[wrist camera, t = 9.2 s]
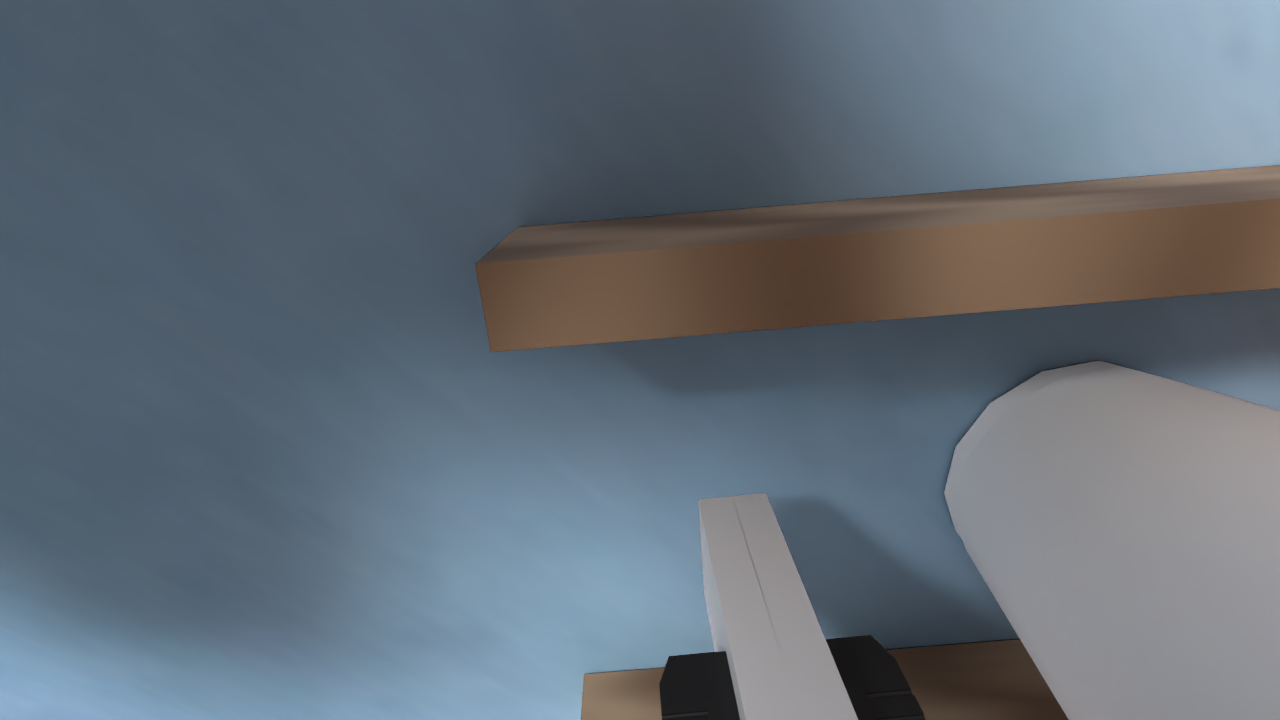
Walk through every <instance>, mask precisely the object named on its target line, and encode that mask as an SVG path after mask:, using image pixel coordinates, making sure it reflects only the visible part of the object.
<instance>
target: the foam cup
mask: <svg viewBox="0 0 1280 720" xmlns="http://www.w3.org/2000/svg"><path fill="white" fill-rule="evenodd" d="M944 494H945V498H946V501H947V504H948V508H949V511H950V514H951V518H952V521H953V524H954V528H955V531H956V533H957V534H958V535H959V536H960V538H961V539H962V540H963V543H964V546H965V549H966V551H967V553H968V554H969V556H970V557H971V559H972V561H973V562H974V564H975V566H976V567H977V569H978V571H979V572H980V574H981V576H982V577H983V579H984V581H985V582H986V584H987V586H988V587H989V589H990V591H991V592H992V594H993V595H994V597H995V599H996V600H997V602H998V604H999V605H1000V607H1001V609H1002V610H1003V612H1004V614H1005V615H1006V617H1007V619H1008V620H1009V622H1010V624H1011V625H1012V627H1013V629H1014V630H1015V632H1016V634H1017V635H1018V637H1019V638H1020V640H1021V642H1022V643H1023V645H1024V647H1025V648H1026V650H1027V652H1028V653H1029V655H1030V657H1031V658H1032V660H1033V662H1034V663H1035V665H1036V667H1037V668H1038V670H1039V672H1040V673H1041V675H1042V676H1043V678H1044V680H1045V681H1046V683H1047V685H1048V686H1049V688H1050V690H1051V691H1052V693H1053V695H1054V696H1055V698H1056V700H1057V701H1058V703H1059V705H1060V706H1061V708H1062V710H1063V711H1064V713H1065V714H1066V716H1067V718H1068V719H1069V720H1280V411H1279V410H1276V409H1272V408H1269V407H1265V406H1262V405H1258V404H1255V403H1251V402H1248V401H1244V400H1241V399H1238V398H1234V397H1231V396H1227V395H1224V394H1220V393H1217V392H1213V391H1210V390H1207V389H1203V388H1200V387H1196V386H1193V385H1189V384H1186V383H1182V382H1179V381H1175V380H1172V379H1168V378H1164V377H1160V376H1156V375H1152V374H1148V373H1145V372H1141V371H1137V370H1133V369H1130V368H1126V367H1122V366H1118V365H1114V364H1110V363H1106V362H1102V361H1094V362H1088V363H1083V364H1078V365H1073V366H1068V367H1062V368H1057V369H1052V370H1047V371H1041V372H1040V373H1038V374H1037V375H1035V376H1033V377H1032V378H1030V379H1028V380H1027V381H1025V382H1023V383H1022V384H1020V385H1019V386H1017V387H1015V388H1014V389H1012V390H1010V391H1009V392H1007V393H1005V394H1004V395H1002V396H1001V397H999V398H997V399H996V400H994V401H992V402H991V403H990V404H989V405H988V406H987V407H986V409H985V410H984V411H983V412H982V414H981V415H980V416H979V418H978V419H977V420H976V421H975V423H974V424H973V425H972V426H971V428H970V429H969V430H968V432H967V433H966V434H965V435H964V437H963V438H962V439H961V440H960V442H959V443H958V444H957V446H956V447H955V451H954V455H953V459H952V463H951V467H950V471H949V475H948V479H947V483H946V487H945V491H944Z"/></svg>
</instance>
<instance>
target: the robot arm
mask: <svg viewBox="0 0 1280 720" xmlns="http://www.w3.org/2000/svg"><path fill="white" fill-rule="evenodd" d="M698 503H699V519H700V535H701V551H702V567H703V582H704V597H705V602H706V608H707V613H708V619H709V624H710V629H711V635H712V640H713V646H714V651H715V652H710V653H699V654H689V655H678V656H669V658H668V661H667V664H666V666H665V669H664V672H663V675H662V677H661V680H660V683H659V688H660V701H661V715H662V720H926V719H925V717H924V713H923V711H922V709H921V707H920V705H919V703H918V701H917V699H916V697H915V695H913V694H912V692H911V688H910V686H909V684H908V682H907V680H906V678H905V676H904V674H903V673H902V671H901V669H900V667H899V665H898V663H897V661H896V659H895V658H894V657H893V656H892V655H891V654H890V653H889V652H888V651H886V650H885V649H884V648H883V647H882V646H881V645H880V644H879V643H878V642H877V641H876V640H875V639H874V638H873V637H872V636H871V635H868V636H857V637H847V638H836V639H825V637H824V634H823V632H822V629H821V627H820V625H819V622H818V620H817V617H816V615H815V612H814V610H813V607H812V605H811V602H810V600H809V597H808V595H807V593H806V590H805V588H804V585H803V583H802V580H801V578H800V575H799V573H798V570H797V568H796V565H795V563H794V561H793V558H792V556H791V553H790V551H789V548H788V546H787V543H786V541H785V538H784V536H783V533H782V531H781V529H780V526H779V524H778V521H777V519H776V516H775V514H774V511H773V509H772V506H771V504H770V502H769V499H768V497H767V494H766V493H759V494H749V495H739V496H728V497H718V498H708V499H698Z"/></svg>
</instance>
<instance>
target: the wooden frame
mask: <svg viewBox="0 0 1280 720" xmlns="http://www.w3.org/2000/svg"><path fill="white" fill-rule="evenodd" d="M475 266H476V271H477V277H478V283H479V288H480V294H481V299H482V305H483V311H484V316H485V322H486V327H487V333H488V339H489V344H490V350H491V352H498V351H511V350H523V349H535V348H547V347H560V346H572V345H584V344H597V343H609V342H621V341H634V340H646V339H658V338H671V337H683V336H695V335H707V334H720V333H732V332H744V331H757V330H769V329H781V328H794V327H806V326H818V325H830V324H843V323H855V322H867V321H880V320H892V319H904V318H917V317H929V316H941V315H954V314H966V313H978V312H990V311H1003V310H1015V309H1027V308H1040V307H1052V306H1064V305H1077V304H1089V303H1101V302H1114V301H1126V300H1138V299H1150V298H1163V297H1175V296H1187V295H1200V294H1212V293H1224V292H1237V291H1249V290H1261V289H1273V288H1280V165H1273V166H1261V167H1249V168H1236V169H1224V170H1212V171H1200V172H1187V173H1175V174H1163V175H1151V176H1138V177H1126V178H1114V179H1102V180H1089V181H1077V182H1065V183H1053V184H1040V185H1028V186H1016V187H1004V188H991V189H979V190H967V191H955V192H942V193H930V194H918V195H906V196H893V197H881V198H869V199H857V200H844V201H832V202H820V203H808V204H796V205H783V206H771V207H759V208H747V209H734V210H722V211H710V212H698V213H685V214H673V215H661V216H649V217H636V218H624V219H612V220H600V221H587V222H575V223H563V224H551V225H538V226H526V227H517V228H516V229H515V230H514V231H512V232H511V233H510V234H509V235H508V236H507V237H506V238H504V239H503V240H502V241H501V242H500V243H499V244H498V245H496V246H495V247H494V248H493V249H492V250H491V251H490V252H488V253H487V254H486V255H485V256H484V257H483V258H482V259H481V260H479V261H478V262H477V263H476V264H475ZM886 651H888V652H889V653H890V654H891V655H892V656H893V657H894V658H895V659H896V661H897V663H898V665H899V667H900V669H901V671H902V673H903V674H904V676H905V678H906V680H907V682H908V684H909V686H910V688H911V692H912V694H913V695H915V697H916V699H917V701H918V703H919V705H920V707H921V709H922V711H923V713H924V717H925V719H926V720H1069V719H1068V718H1067V716H1066V714H1065V713H1064V711H1063V710H1062V708H1061V706H1060V705H1059V703H1058V701H1057V700H1056V698H1055V696H1054V695H1053V693H1052V691H1051V690H1050V688H1049V686H1048V685H1047V683H1046V681H1045V680H1044V678H1043V676H1042V675H1041V673H1040V672H1039V670H1038V668H1037V667H1036V665H1035V663H1034V662H1033V660H1032V658H1031V657H1030V655H1029V653H1028V652H1027V650H1026V648H1025V647H1024V645H1023V643H1022V642H1021V640H1020V639H1016V640H1003V641H991V642H979V643H966V644H954V645H941V646H929V647H916V648H904V649H891V650H886ZM664 669H665V668H654V669H642V670H629V671H617V672H604V673H592V674H584V682H583V696H582V710H581V720H662V715H661V701H660V688H659V683H660V680H661V677H662V675H663V672H664Z"/></svg>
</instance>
